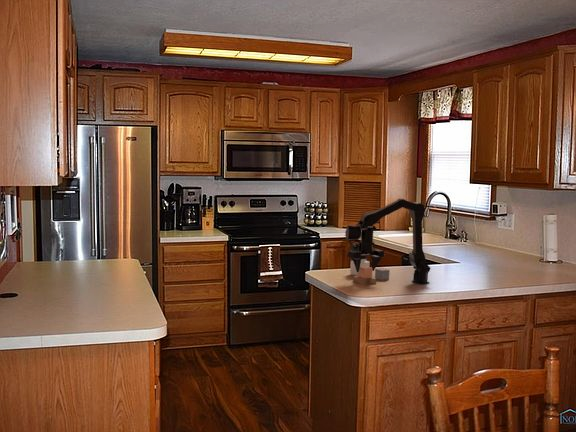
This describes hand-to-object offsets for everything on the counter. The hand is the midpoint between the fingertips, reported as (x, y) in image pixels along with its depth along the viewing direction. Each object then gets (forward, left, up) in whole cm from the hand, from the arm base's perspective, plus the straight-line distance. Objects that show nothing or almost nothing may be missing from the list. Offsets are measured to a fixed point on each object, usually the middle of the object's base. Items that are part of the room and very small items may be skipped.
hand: (365, 271), depth 295 cm
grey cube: (-14, -4, -6) cm, 16 cm away
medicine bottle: (-9, -16, -6) cm, 19 cm away
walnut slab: (0, 0, -6) cm, 6 cm away
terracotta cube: (0, 0, -3) cm, 3 cm away
